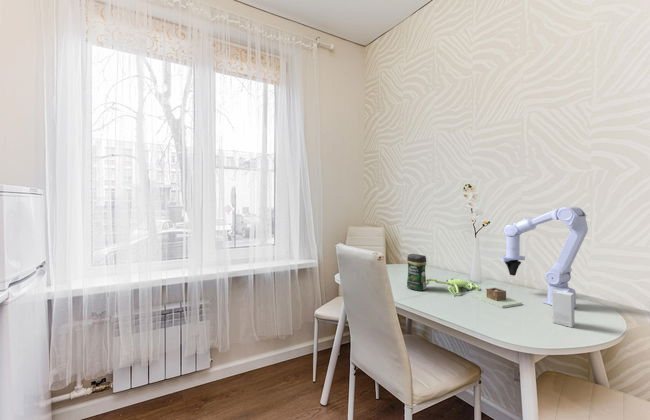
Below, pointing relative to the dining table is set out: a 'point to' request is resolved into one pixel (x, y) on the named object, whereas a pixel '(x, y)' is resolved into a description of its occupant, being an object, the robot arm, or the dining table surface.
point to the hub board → (501, 304)
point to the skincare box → (563, 308)
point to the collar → (496, 294)
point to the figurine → (455, 284)
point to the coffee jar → (416, 272)
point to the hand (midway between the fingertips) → (512, 275)
